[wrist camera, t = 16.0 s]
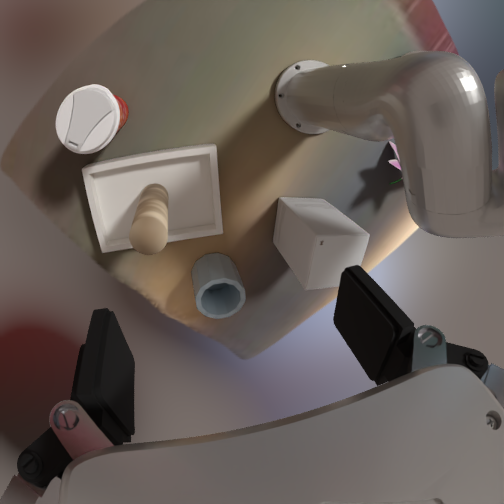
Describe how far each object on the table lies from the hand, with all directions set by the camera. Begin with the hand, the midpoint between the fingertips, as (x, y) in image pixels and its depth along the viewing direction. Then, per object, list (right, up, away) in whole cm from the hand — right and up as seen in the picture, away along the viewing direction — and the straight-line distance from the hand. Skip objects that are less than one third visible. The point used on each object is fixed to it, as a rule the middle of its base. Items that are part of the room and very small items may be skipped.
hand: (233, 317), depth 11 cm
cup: (-6, -1, +42) cm, 42 cm away
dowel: (-14, +11, +32) cm, 36 cm away
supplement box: (+9, +8, +41) cm, 43 cm away
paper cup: (-20, +23, +25) cm, 39 cm away
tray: (-14, +11, +32) cm, 37 cm away
